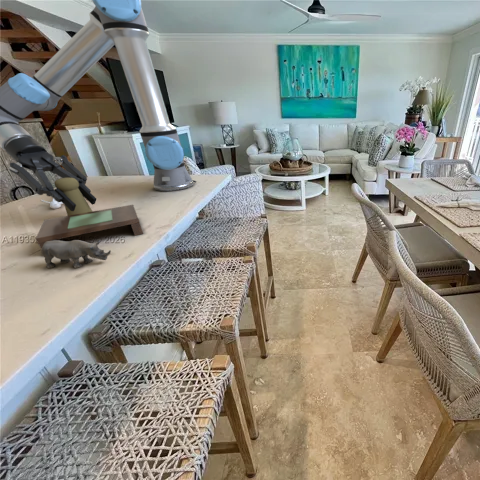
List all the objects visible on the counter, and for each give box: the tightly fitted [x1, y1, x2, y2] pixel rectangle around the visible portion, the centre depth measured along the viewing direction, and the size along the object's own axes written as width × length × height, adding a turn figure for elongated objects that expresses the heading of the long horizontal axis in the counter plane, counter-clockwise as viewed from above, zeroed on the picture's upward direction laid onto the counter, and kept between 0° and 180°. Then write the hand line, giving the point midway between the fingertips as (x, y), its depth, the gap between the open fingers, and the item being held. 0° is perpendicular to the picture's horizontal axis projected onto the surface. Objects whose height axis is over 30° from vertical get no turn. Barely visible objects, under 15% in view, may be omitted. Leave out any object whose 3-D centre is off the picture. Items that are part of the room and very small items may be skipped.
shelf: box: [35, 204, 144, 249], centre depth 71 cm, size 20×14×5 cm
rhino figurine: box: [40, 239, 112, 269], centre depth 57 cm, size 4×14×6 cm, turn 93°
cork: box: [54, 177, 94, 216], centre depth 79 cm, size 6×6×11 cm
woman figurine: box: [40, 197, 64, 210], centre depth 96 cm, size 12×4×18 cm
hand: (84, 204), depth 79 cm, fingers closed on cork, 5 cm apart
